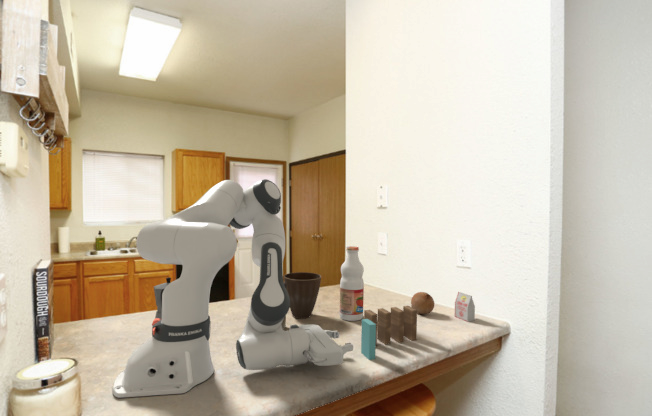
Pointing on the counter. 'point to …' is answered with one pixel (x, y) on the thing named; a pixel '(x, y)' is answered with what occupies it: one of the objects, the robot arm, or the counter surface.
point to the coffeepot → (160, 297)
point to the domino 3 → (397, 324)
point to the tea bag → (464, 307)
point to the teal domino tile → (368, 339)
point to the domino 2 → (384, 326)
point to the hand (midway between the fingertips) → (345, 340)
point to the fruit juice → (351, 286)
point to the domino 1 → (371, 319)
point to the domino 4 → (410, 323)
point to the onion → (422, 303)
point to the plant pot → (302, 292)
